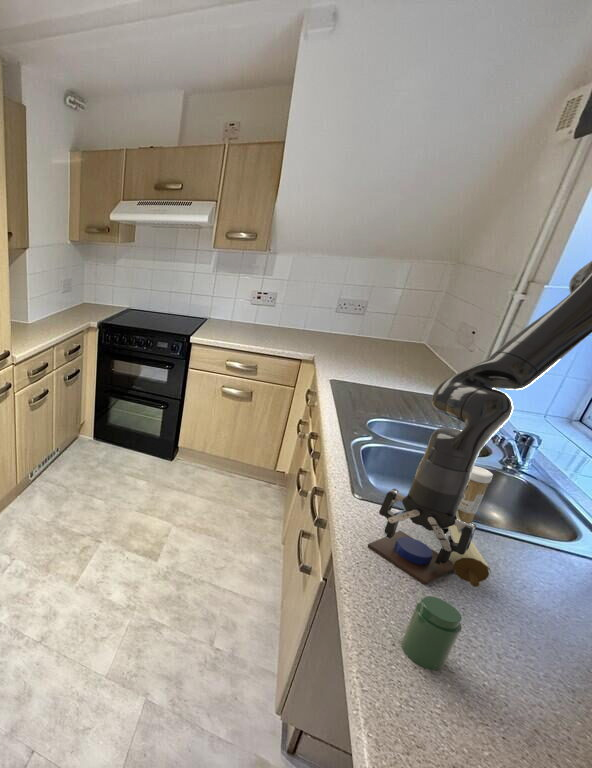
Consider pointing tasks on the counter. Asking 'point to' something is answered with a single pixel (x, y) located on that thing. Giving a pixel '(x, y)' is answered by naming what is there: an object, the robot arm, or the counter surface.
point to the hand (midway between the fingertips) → (413, 548)
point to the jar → (431, 633)
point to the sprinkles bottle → (474, 493)
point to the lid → (413, 550)
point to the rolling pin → (468, 561)
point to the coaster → (417, 571)
